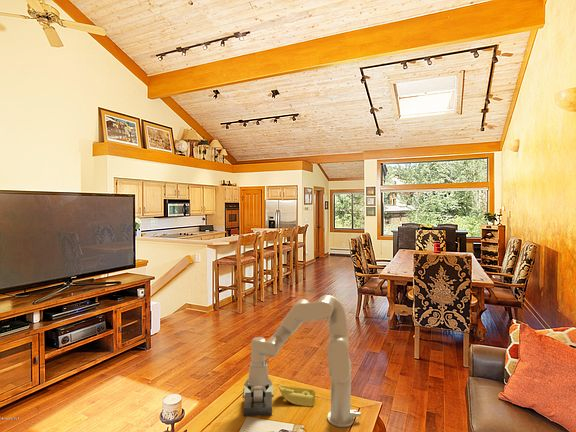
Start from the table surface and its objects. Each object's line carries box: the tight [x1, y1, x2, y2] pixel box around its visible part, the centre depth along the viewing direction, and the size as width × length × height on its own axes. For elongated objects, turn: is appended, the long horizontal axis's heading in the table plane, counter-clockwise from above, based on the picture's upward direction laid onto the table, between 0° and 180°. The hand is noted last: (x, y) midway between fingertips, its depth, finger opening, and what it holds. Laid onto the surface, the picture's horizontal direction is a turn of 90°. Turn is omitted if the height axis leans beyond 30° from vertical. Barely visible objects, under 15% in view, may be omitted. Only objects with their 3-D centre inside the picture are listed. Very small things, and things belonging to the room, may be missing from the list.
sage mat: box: [243, 384, 274, 398], centre depth 183 cm, size 16×10×1 cm, turn 94°
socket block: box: [242, 392, 273, 417], centre depth 168 cm, size 14×14×4 cm
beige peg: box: [254, 386, 263, 403], centre depth 168 cm, size 5×5×10 cm
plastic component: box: [278, 385, 316, 407], centre depth 176 cm, size 20×7×10 cm
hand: (258, 397), depth 168 cm, fingers closed on beige peg, 4 cm apart
